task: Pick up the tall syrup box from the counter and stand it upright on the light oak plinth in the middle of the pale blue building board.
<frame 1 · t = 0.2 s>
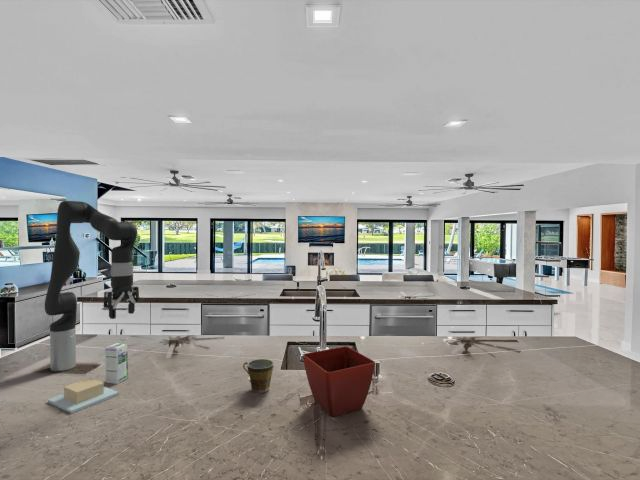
hand: (122, 315, 138), 28 cm above the table, tool pointing down, fingers open, 8 cm apart
plant pot: (337, 405, 126), on the table
syrup box: (117, 381, 146), on the table
ceramic cup: (257, 389, 139), on the table
build base: (84, 398, 130), on the table
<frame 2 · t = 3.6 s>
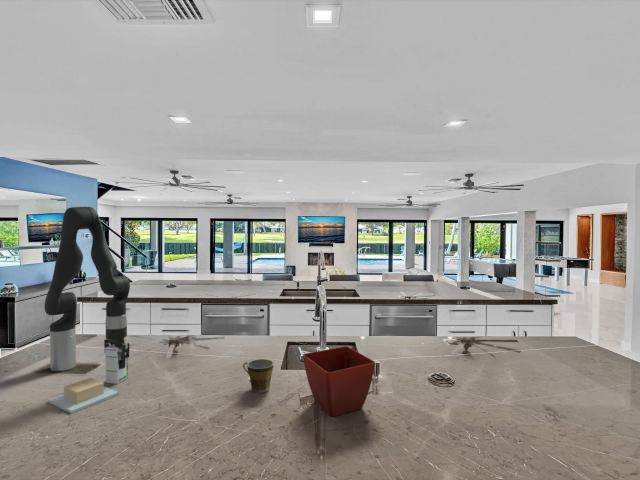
hand: (116, 366, 146), 6 cm above the table, tool pointing down, fingers closed on syrup box, 6 cm apart
syrup box: (117, 381, 146), on the table, touching gripper
everything else where it was.
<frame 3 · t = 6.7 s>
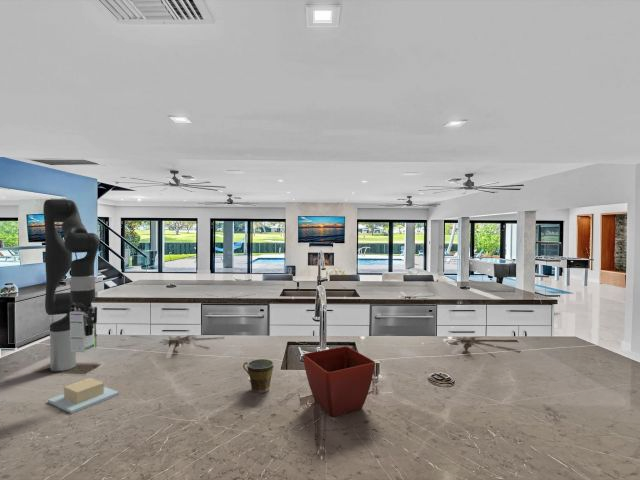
hand: (83, 333, 130), 24 cm above the table, tool pointing down, fingers closed on syrup box, 6 cm apart
syrup box: (83, 350, 130), point 18 cm above the table, touching gripper
everything else where it was.
when the fingers open (12 cm above the table, at t = 9.8 s): syrup box drops 1 cm, resting on build base.
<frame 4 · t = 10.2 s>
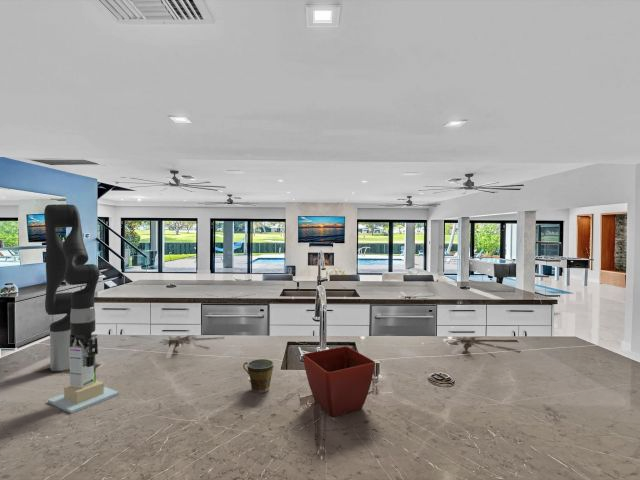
hand: (83, 364, 130), 13 cm above the table, tool pointing down, fingers open, 8 cm apart
syrup box: (83, 384, 130), point 5 cm above the table, touching build base
everything else where it was.
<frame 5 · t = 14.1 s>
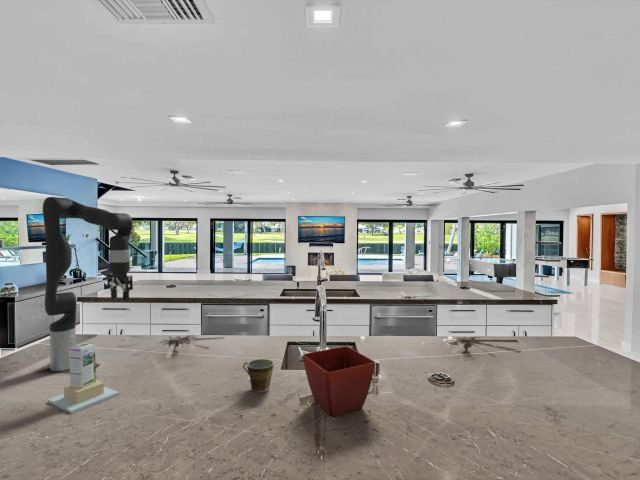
hand: (119, 299, 150), 32 cm above the table, tool pointing down, fingers open, 8 cm apart
nothing on the table moved.
at the end: syrup box 0.6 cm off-centre on the build base, point 4.8 cm above the build base's base; syrup box tilted 0°; the gripper is holding nothing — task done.
